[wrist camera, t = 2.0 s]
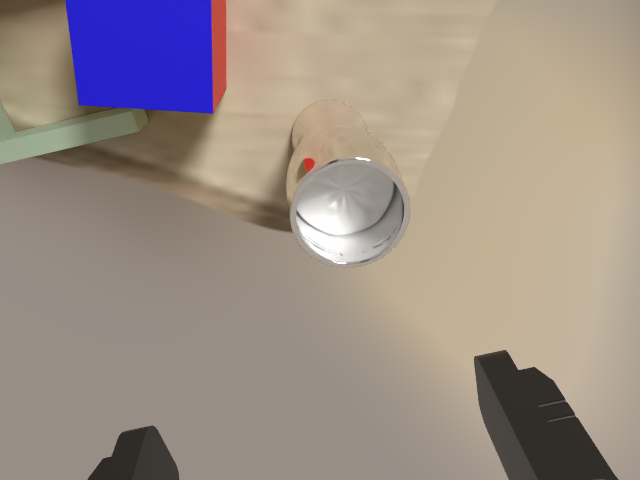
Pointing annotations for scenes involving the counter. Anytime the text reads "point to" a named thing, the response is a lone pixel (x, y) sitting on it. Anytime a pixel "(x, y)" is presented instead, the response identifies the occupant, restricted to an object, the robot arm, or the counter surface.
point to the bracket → (67, 132)
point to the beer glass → (343, 188)
